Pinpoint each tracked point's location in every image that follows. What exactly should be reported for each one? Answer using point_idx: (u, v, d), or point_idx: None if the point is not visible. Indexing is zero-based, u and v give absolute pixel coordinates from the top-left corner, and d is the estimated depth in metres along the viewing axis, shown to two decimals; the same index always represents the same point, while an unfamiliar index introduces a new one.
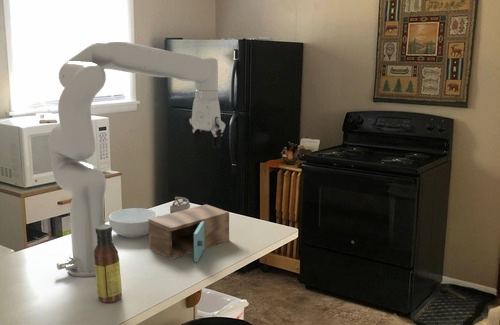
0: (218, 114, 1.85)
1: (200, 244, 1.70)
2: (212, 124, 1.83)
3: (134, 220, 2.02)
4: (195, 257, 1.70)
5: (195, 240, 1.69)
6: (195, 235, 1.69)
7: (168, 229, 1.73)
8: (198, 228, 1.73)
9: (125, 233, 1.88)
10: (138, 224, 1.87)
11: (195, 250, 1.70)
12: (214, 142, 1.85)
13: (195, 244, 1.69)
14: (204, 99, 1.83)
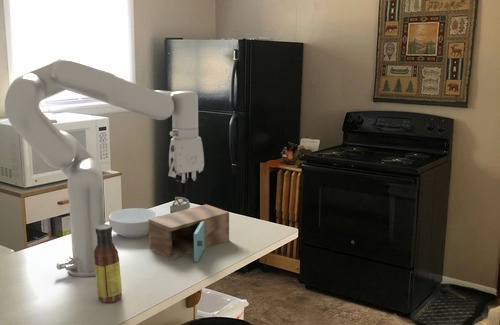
0: None
1: (200, 244, 1.70)
2: None
3: (134, 220, 2.02)
4: (195, 257, 1.70)
5: (195, 240, 1.69)
6: (195, 235, 1.69)
7: (168, 229, 1.73)
8: (198, 228, 1.73)
9: (125, 233, 1.88)
10: (138, 224, 1.87)
11: (195, 250, 1.70)
12: None
13: (195, 244, 1.69)
14: (198, 137, 1.65)
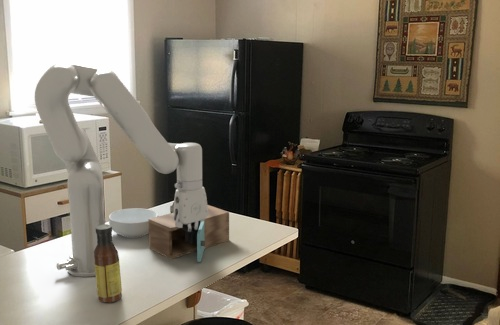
0: None
1: (203, 244, 1.70)
2: None
3: (134, 220, 2.02)
4: (198, 257, 1.70)
5: (198, 240, 1.69)
6: (198, 235, 1.69)
7: (168, 229, 1.73)
8: (200, 228, 1.73)
9: (125, 233, 1.88)
10: (138, 224, 1.87)
11: (198, 250, 1.70)
12: None
13: (198, 244, 1.69)
14: (202, 187, 1.68)
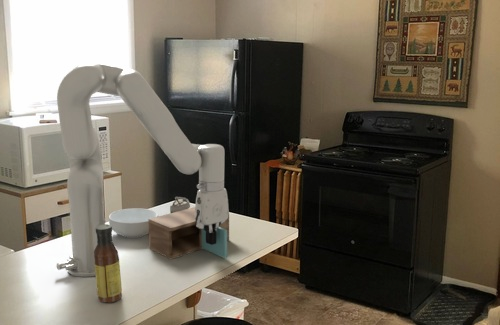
0: None
1: (227, 239, 1.74)
2: None
3: (134, 220, 2.02)
4: (225, 253, 1.73)
5: (225, 236, 1.72)
6: (225, 232, 1.72)
7: (168, 229, 1.73)
8: None
9: (125, 233, 1.88)
10: (138, 224, 1.87)
11: (225, 246, 1.73)
12: None
13: (225, 240, 1.73)
14: (223, 189, 1.69)
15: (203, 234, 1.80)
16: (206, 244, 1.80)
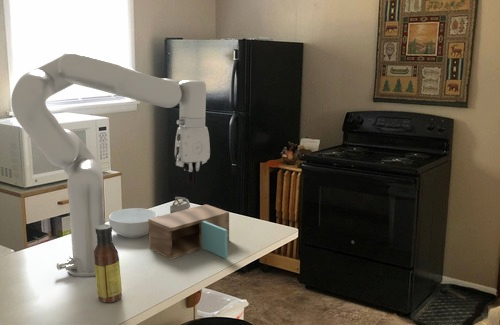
0: None
1: (228, 239, 1.74)
2: None
3: (134, 220, 2.02)
4: (226, 253, 1.74)
5: (226, 236, 1.72)
6: (226, 231, 1.72)
7: (168, 229, 1.73)
8: (216, 226, 1.75)
9: (125, 233, 1.88)
10: (138, 224, 1.87)
11: (226, 246, 1.73)
12: None
13: (226, 240, 1.73)
14: (204, 126, 1.64)
15: (203, 234, 1.80)
16: (206, 244, 1.80)
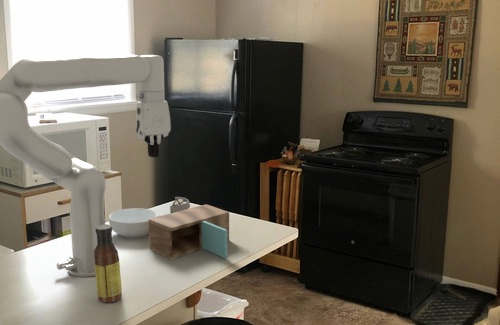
0: None
1: (228, 239, 1.74)
2: None
3: (134, 220, 2.02)
4: (226, 253, 1.74)
5: (226, 236, 1.72)
6: (226, 231, 1.72)
7: (168, 229, 1.73)
8: (216, 226, 1.75)
9: (125, 233, 1.88)
10: (138, 224, 1.87)
11: (226, 246, 1.73)
12: None
13: (226, 240, 1.73)
14: (163, 100, 1.69)
15: (203, 234, 1.80)
16: (206, 244, 1.80)
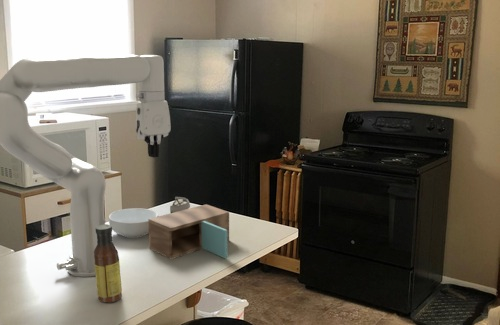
0: None
1: (228, 239, 1.74)
2: None
3: (134, 220, 2.02)
4: (226, 253, 1.74)
5: (226, 236, 1.72)
6: (226, 231, 1.72)
7: (168, 229, 1.73)
8: (216, 226, 1.75)
9: (125, 233, 1.88)
10: (138, 224, 1.87)
11: (226, 246, 1.73)
12: None
13: (226, 240, 1.73)
14: (163, 100, 1.69)
15: (203, 234, 1.80)
16: (206, 244, 1.80)
